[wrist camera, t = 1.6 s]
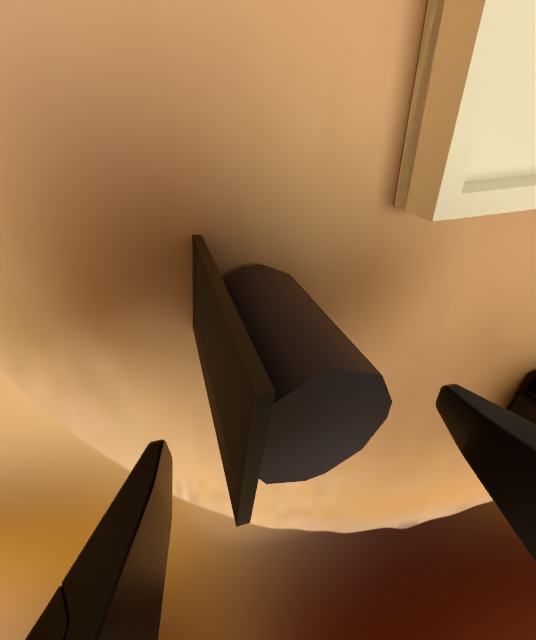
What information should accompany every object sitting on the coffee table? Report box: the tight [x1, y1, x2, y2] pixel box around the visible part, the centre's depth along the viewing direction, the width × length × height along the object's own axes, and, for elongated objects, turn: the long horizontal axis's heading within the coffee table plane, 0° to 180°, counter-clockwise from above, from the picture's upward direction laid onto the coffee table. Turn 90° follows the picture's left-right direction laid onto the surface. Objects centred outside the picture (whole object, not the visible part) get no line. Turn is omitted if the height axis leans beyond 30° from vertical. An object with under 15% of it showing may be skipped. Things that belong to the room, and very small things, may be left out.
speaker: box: [192, 235, 392, 527], centre depth 12 cm, size 8×6×10 cm
